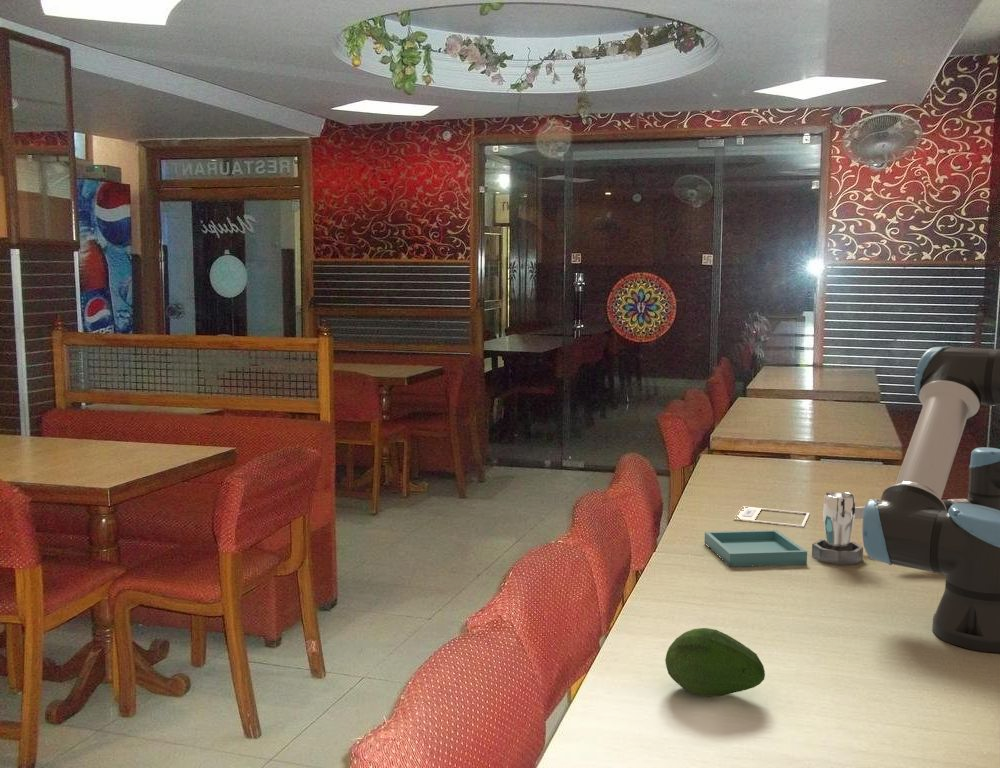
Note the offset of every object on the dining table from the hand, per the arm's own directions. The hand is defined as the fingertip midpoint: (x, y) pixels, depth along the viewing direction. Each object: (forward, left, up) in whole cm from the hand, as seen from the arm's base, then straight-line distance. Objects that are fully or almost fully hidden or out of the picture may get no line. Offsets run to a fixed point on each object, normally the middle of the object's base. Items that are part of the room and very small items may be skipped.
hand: (868, 520), depth 217 cm
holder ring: (-1, +8, -8) cm, 12 cm away
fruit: (-67, +59, -9) cm, 90 cm away
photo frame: (+36, +9, -9) cm, 38 cm away
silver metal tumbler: (-1, +8, -9) cm, 12 cm away
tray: (+4, +26, -8) cm, 27 cm away
